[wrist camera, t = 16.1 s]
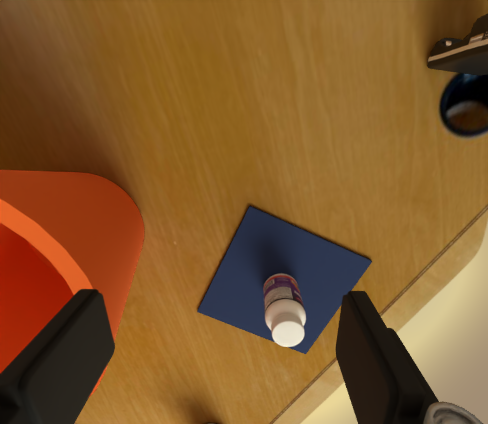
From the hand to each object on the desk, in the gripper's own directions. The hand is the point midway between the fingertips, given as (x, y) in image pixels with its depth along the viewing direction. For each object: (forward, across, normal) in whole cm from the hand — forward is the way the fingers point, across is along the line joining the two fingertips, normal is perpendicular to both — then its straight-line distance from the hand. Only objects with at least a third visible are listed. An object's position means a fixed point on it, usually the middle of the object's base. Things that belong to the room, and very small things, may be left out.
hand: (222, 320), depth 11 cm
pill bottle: (+28, -5, +19) cm, 34 cm away
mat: (+28, -5, +19) cm, 34 cm away
